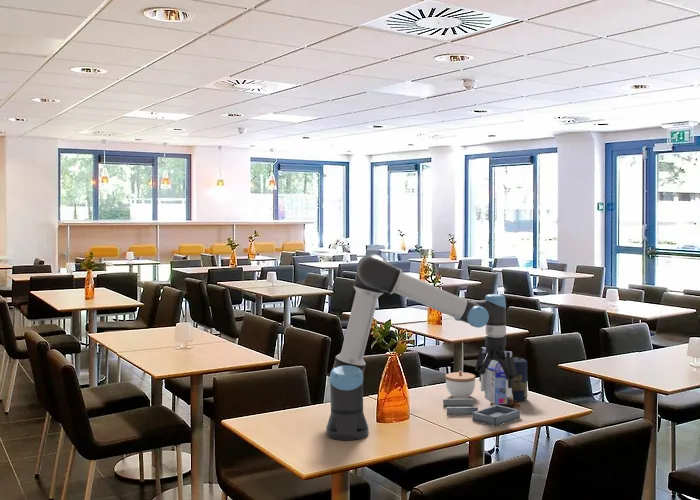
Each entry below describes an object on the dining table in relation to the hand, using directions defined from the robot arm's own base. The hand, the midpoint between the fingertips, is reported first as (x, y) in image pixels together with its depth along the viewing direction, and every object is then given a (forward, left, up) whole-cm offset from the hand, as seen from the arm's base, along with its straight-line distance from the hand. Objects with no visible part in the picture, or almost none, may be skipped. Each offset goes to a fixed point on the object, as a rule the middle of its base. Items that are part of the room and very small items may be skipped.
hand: (496, 393), depth 263 cm
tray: (0, 0, -10) cm, 10 cm away
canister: (+13, +27, -10) cm, 32 cm away
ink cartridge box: (0, 0, -3) cm, 3 cm away
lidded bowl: (-9, +33, -10) cm, 36 cm away
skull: (+7, +18, -10) cm, 22 cm away
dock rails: (-12, +12, -10) cm, 20 cm away
